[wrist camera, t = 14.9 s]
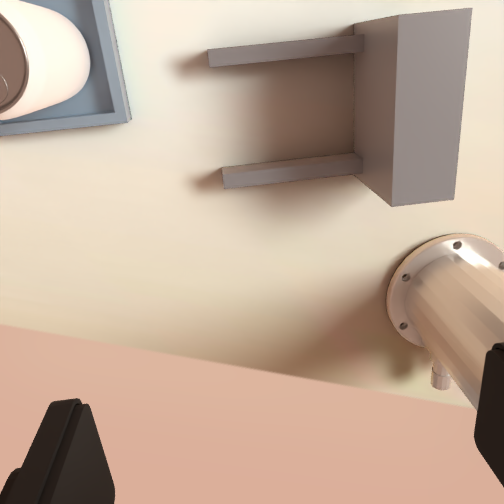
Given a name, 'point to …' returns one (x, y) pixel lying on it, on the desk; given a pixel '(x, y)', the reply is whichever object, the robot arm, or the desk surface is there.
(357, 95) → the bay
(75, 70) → the can
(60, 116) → the tray
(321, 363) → the desk surface
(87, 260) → the desk surface
